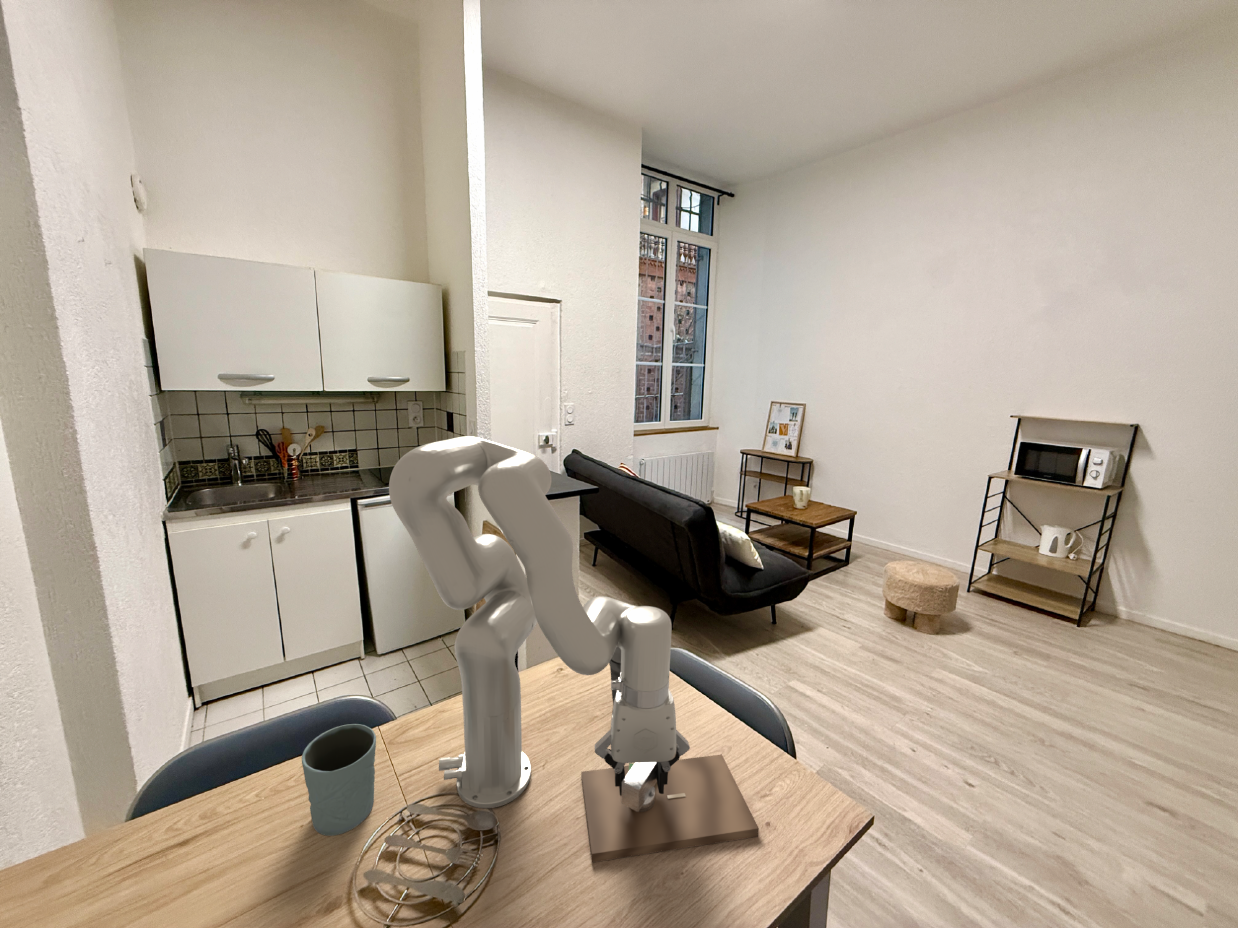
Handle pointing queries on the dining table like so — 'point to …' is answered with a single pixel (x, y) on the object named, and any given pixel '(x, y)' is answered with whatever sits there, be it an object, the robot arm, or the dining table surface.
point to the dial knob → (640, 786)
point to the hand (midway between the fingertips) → (640, 786)
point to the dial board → (667, 811)
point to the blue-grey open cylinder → (340, 777)
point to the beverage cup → (615, 668)
